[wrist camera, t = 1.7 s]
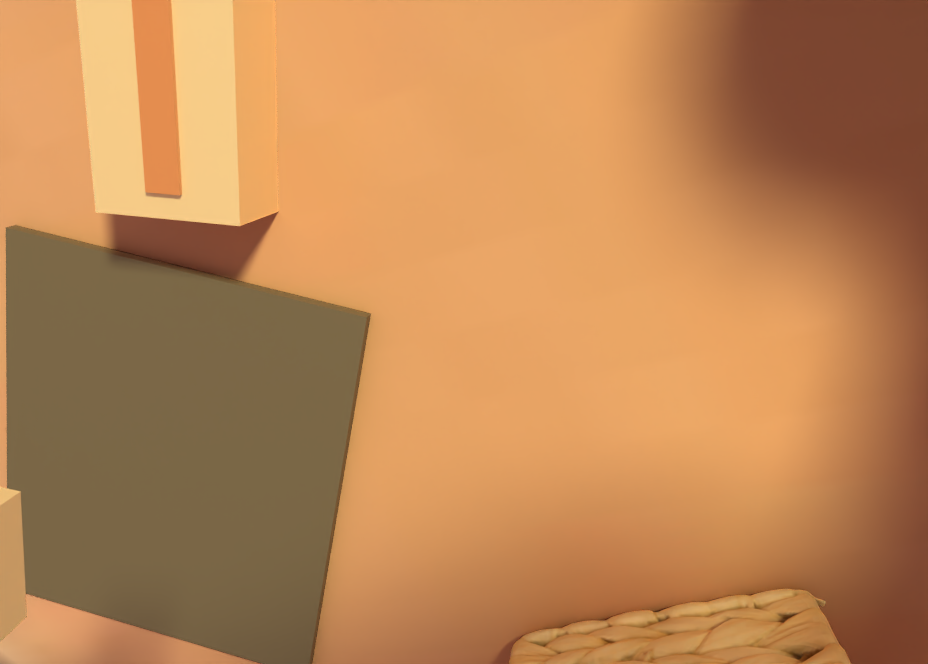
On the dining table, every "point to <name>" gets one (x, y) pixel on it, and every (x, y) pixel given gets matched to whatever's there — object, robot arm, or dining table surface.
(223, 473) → the mat
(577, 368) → the dining table surface
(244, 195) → the cream striped block
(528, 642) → the storage basket
